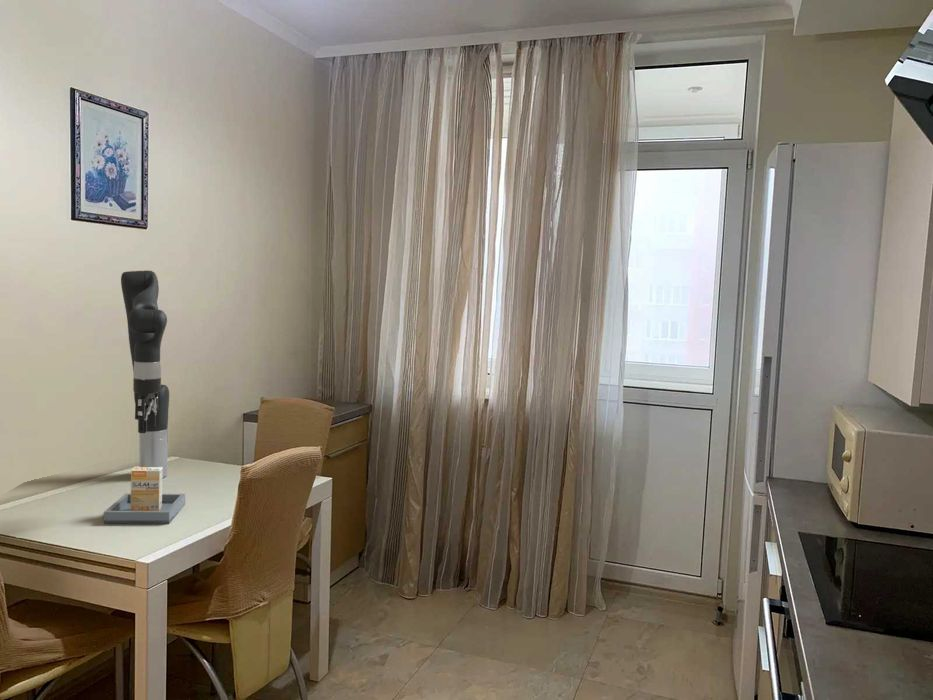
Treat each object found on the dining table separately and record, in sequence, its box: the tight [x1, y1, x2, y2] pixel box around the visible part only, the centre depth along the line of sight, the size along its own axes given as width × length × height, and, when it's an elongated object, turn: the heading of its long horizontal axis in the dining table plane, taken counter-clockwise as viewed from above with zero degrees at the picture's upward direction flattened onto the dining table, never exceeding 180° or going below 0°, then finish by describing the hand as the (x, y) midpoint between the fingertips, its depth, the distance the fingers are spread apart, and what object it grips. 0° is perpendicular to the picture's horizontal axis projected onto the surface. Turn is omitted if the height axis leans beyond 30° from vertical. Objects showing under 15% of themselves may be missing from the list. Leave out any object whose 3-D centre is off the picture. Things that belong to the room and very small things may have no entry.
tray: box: [103, 492, 186, 525], centre depth 215 cm, size 18×18×4 cm
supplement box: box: [130, 466, 163, 511], centre depth 214 cm, size 8×5×13 cm, turn 103°
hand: (147, 429), depth 212 cm, fingers open, 8 cm apart
